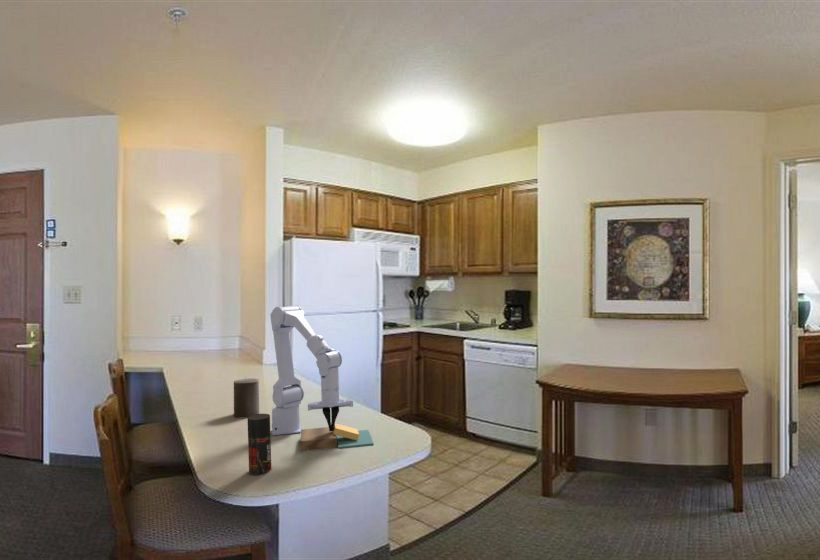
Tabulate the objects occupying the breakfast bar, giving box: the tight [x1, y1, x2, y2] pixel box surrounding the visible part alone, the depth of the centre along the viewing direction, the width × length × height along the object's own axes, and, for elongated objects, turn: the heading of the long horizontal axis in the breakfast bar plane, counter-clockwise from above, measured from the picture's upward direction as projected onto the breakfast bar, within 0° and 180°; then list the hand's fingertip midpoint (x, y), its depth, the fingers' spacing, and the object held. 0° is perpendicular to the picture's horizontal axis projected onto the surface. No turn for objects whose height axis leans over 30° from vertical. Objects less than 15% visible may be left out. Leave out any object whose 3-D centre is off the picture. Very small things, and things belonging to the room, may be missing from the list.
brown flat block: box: [299, 426, 338, 452], centre depth 147 cm, size 11×12×3 cm
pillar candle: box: [233, 377, 260, 418], centre depth 184 cm, size 10×10×15 cm
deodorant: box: [246, 413, 272, 476], centre depth 127 cm, size 6×6×15 cm
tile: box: [333, 422, 359, 440], centre depth 149 cm, size 8×6×2 cm
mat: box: [336, 429, 374, 449], centre depth 150 cm, size 11×14×1 cm
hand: (331, 430), depth 148 cm, fingers closed
